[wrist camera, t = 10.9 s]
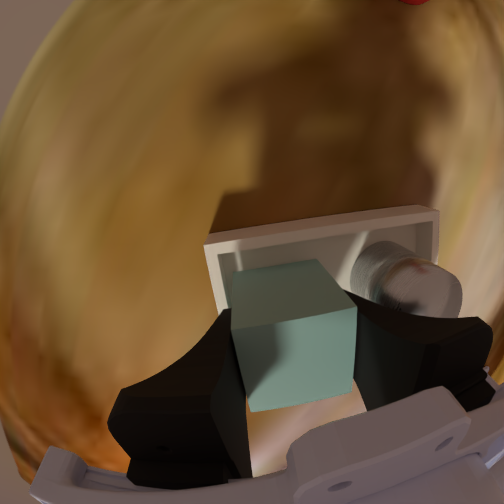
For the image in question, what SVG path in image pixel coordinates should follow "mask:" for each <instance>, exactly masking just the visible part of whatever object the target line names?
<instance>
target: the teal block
mask: <svg viewBox="0 0 504 504" xmlns="http://www.w3.org/2000/svg"><path fill="white" fill-rule="evenodd" d="M356 327H357V306H356V305H355V303H354V302H353V301H352V300H351V299H350V297H349V296H348V295H347V294H346V293H345V291H344V290H343V289H342V288H341V287H340V285H339V284H338V283H337V282H336V281H335V280H334V278H333V277H332V276H331V275H330V274H329V273H328V271H327V270H326V269H325V268H324V267H323V266H322V264H321V263H320V262H319V261H318V260H317V259H311V260H305V261H299V262H293V263H287V264H281V265H275V266H269V267H263V268H256V269H250V270H244V271H237V272H233V285H232V312H231V332H232V337H233V341H234V345H235V350H236V354H237V358H238V362H239V367H240V371H241V375H242V379H243V383H244V387H245V391H246V395H247V399H248V403H249V407H250V410H251V412H256V411H263V410H270V409H277V408H283V407H288V406H294V405H299V404H304V403H309V402H314V401H318V400H322V399H327V398H331V397H335V396H339V395H342V394H346V393H350V392H352V382H353V372H354V360H355V346H356Z"/></svg>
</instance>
